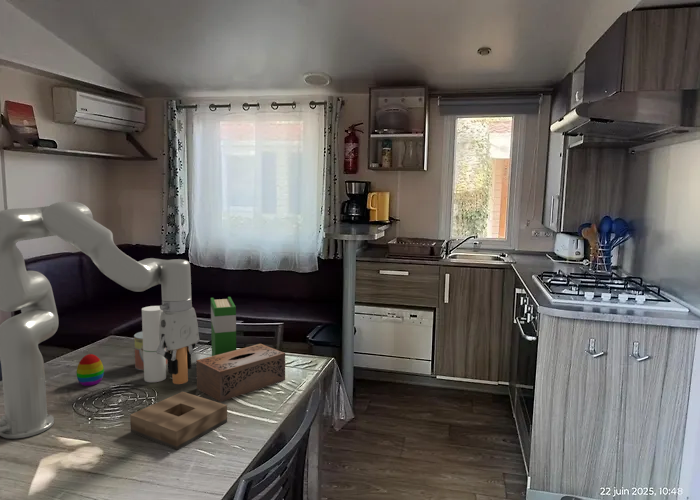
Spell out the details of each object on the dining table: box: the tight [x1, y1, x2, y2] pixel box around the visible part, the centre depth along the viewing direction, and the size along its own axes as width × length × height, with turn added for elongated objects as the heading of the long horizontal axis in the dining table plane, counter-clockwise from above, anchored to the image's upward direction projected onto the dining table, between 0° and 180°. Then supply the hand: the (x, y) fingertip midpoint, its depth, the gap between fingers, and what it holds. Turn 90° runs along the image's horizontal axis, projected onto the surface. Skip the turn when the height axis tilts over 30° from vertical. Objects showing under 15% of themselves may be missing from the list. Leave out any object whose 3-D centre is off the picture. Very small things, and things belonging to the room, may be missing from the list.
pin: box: [172, 347, 189, 385], centre depth 134 cm, size 4×4×12 cm
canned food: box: [133, 330, 168, 371], centre depth 183 cm, size 11×11×12 cm
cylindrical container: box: [141, 305, 167, 383], centre depth 169 cm, size 7×7×25 cm
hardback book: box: [210, 296, 237, 356], centre depth 184 cm, size 18×7×24 cm, turn 20°
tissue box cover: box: [195, 343, 286, 403], centre depth 166 cm, size 26×14×10 cm, turn 136°
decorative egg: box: [76, 353, 105, 387], centre depth 165 cm, size 8×8×10 cm
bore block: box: [129, 391, 228, 451], centre depth 136 cm, size 18×18×5 cm
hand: (179, 369), depth 134 cm, fingers closed on pin, 4 cm apart
